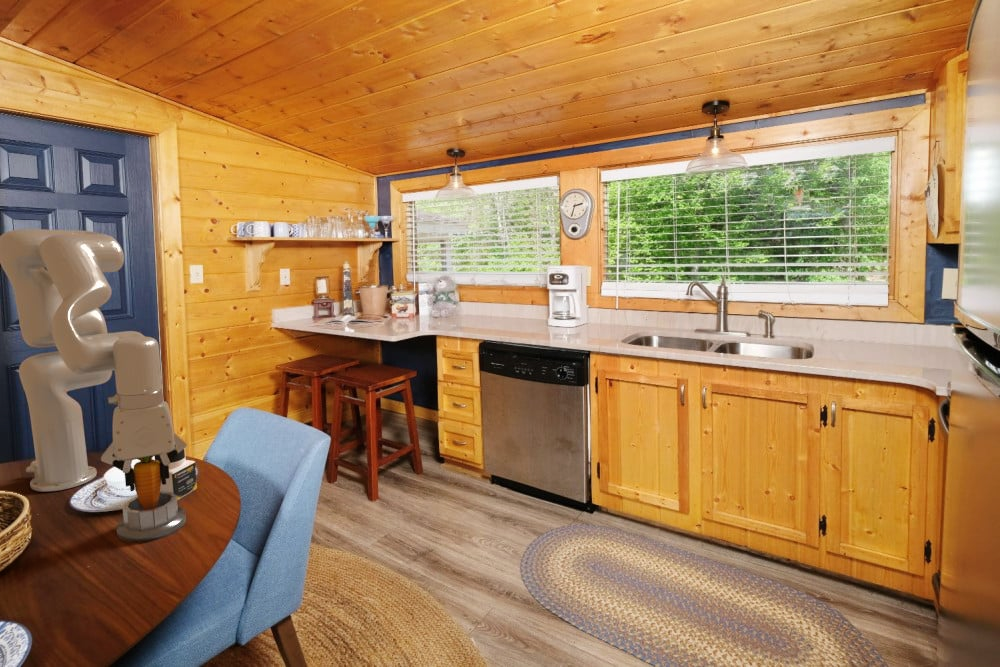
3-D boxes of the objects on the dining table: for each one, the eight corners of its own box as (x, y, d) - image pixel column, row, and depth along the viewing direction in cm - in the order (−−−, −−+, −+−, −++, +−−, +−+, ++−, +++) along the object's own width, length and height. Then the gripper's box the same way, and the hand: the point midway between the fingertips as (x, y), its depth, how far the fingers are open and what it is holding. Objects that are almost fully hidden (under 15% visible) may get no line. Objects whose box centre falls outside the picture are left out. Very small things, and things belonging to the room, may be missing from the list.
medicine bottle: (174, 502, 123) (170, 452, 121) (147, 499, 125) (143, 449, 123) (197, 488, 130) (194, 440, 128) (172, 485, 131) (168, 438, 129)
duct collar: (102, 539, 108) (99, 513, 107) (147, 510, 119) (145, 486, 119) (158, 544, 106) (155, 518, 105) (198, 514, 118) (196, 490, 117)
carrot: (169, 507, 115) (163, 439, 113) (157, 519, 110) (151, 449, 108) (144, 508, 115) (138, 440, 112) (131, 520, 110) (124, 449, 107)
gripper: (86, 411, 101) (96, 503, 104) (191, 397, 110) (197, 482, 113) (87, 400, 107) (97, 488, 110) (187, 389, 116) (193, 469, 119)
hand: (148, 484), depth 111 cm, fingers closed on carrot, 4 cm apart
